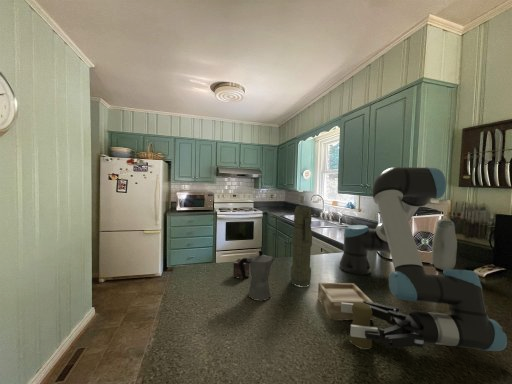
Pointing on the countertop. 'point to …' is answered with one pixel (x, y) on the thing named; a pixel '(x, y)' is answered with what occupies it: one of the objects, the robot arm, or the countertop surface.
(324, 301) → the oak stand
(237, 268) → the box
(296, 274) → the thermos
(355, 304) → the cork
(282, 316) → the countertop surface
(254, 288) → the coffeepot
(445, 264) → the grey rounded cylinder
